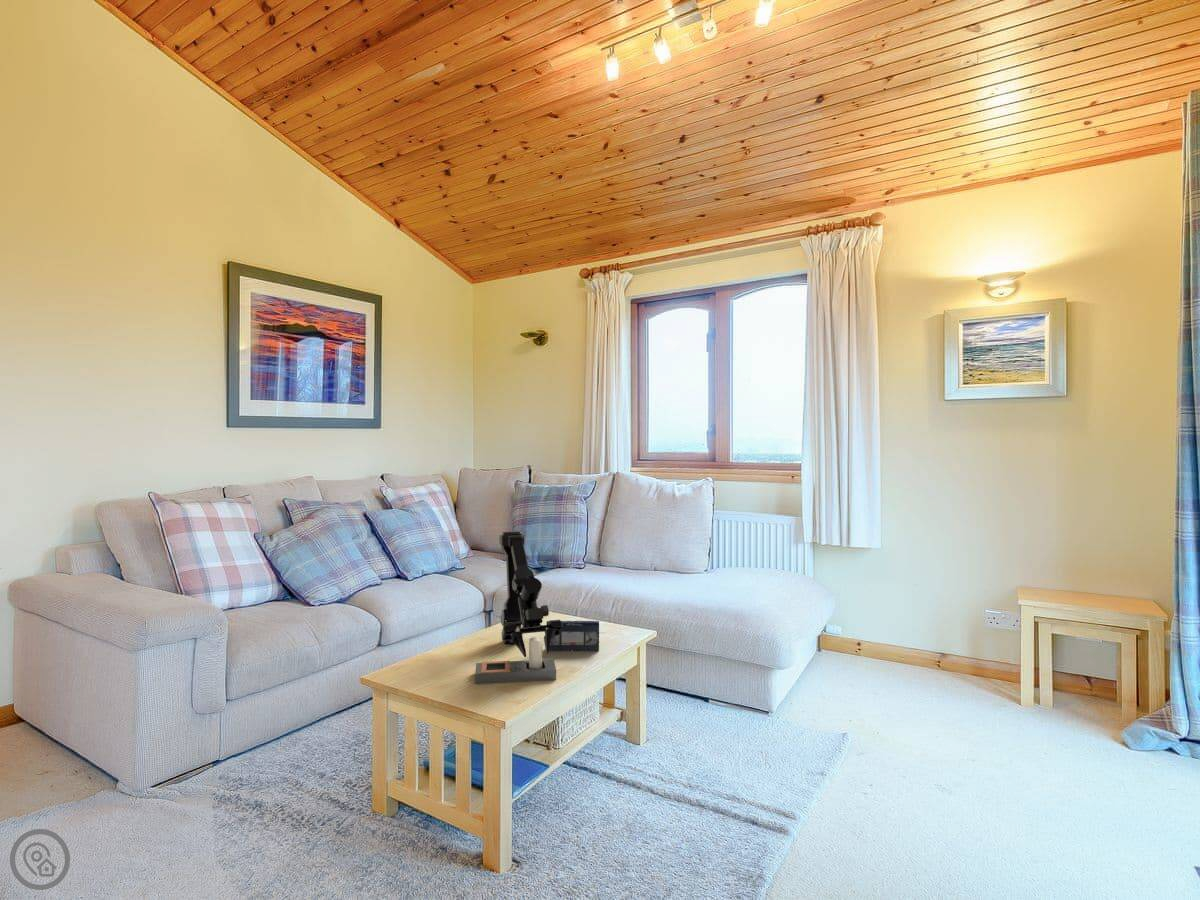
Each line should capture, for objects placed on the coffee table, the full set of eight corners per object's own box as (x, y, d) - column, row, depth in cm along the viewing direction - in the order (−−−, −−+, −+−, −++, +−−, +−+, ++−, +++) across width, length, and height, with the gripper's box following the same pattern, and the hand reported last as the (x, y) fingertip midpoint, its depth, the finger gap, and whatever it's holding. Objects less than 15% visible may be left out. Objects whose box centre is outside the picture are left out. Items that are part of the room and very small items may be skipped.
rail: (476, 672, 188) (476, 662, 188) (553, 668, 192) (553, 658, 192) (475, 684, 179) (475, 672, 179) (556, 679, 183) (556, 668, 183)
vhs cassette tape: (545, 651, 208) (545, 622, 208) (546, 648, 211) (546, 620, 211) (599, 652, 208) (599, 623, 208) (599, 649, 211) (599, 620, 211)
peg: (528, 673, 188) (528, 637, 188) (541, 672, 189) (541, 637, 189) (529, 678, 184) (529, 641, 184) (542, 677, 185) (542, 641, 185)
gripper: (503, 598, 187) (510, 645, 177) (561, 594, 193) (571, 639, 183) (498, 617, 194) (504, 663, 184) (554, 612, 201) (563, 656, 190)
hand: (536, 655), depth 185 cm, fingers open, 7 cm apart
